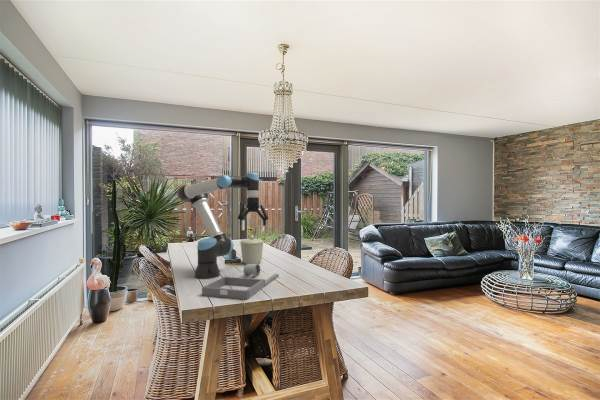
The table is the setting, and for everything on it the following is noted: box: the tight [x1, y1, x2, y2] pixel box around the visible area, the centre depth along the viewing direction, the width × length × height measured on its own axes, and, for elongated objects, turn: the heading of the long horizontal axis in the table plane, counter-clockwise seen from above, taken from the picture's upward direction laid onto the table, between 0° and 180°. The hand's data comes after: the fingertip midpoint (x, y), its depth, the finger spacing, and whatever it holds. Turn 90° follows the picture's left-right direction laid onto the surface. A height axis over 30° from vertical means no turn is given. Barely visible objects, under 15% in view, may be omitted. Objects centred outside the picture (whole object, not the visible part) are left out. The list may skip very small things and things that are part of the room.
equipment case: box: [201, 270, 280, 300], centre depth 185 cm, size 25×47×4 cm, turn 164°
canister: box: [239, 235, 265, 265], centre depth 244 cm, size 18×18×21 cm
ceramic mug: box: [243, 263, 261, 278], centre depth 194 cm, size 11×8×8 cm
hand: (253, 230), depth 206 cm, fingers open, 13 cm apart
